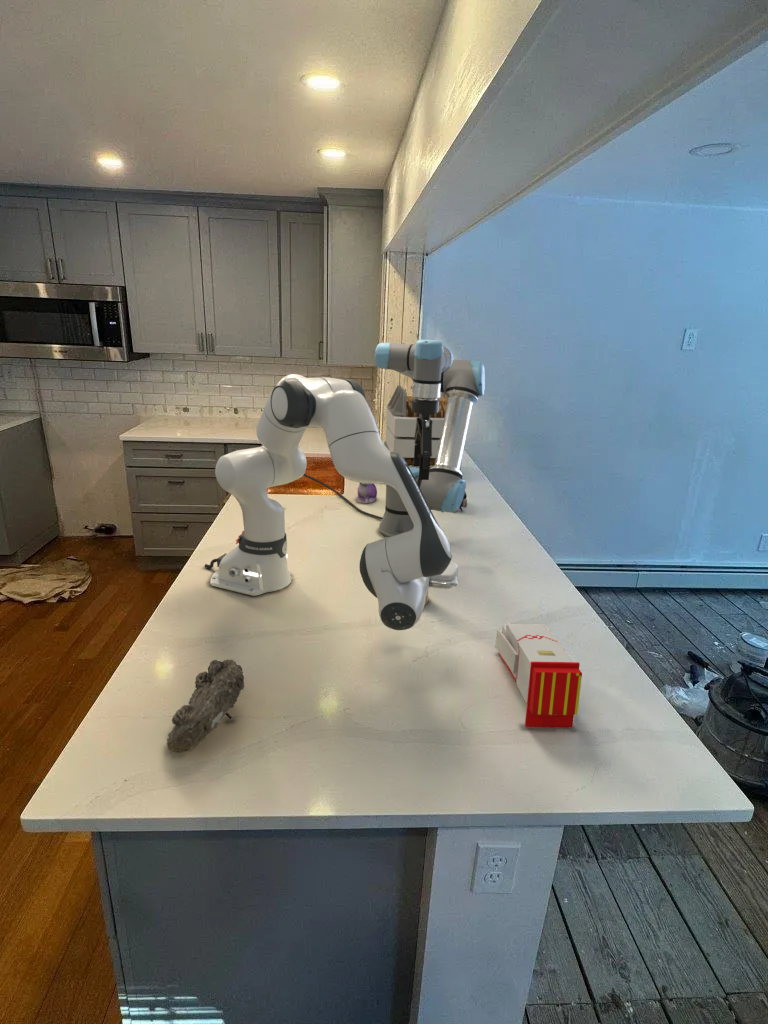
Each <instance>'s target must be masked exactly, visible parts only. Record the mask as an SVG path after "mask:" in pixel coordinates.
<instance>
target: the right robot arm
mask: <svg viewBox="0 0 768 1024" xmlns="http://www.w3.org/2000/svg"><path fill="white" fill-rule="evenodd" d="M374 363H375V366H376V367H377V368H378V369H382V370H386V371H387V370H392V371H394V372H397V373H399V374H401V375H403V376H406V377H407V378H410V379H411V380H412V383H413V385H410V390H412V393H411V394H412V396H413V397H415V398H413V399H412V408H411V410H412V412H413V413H416V414H417V419H416V429H415V437H414V441H415V444H416V445H415V448H414V464H413V466H408V467H409V468H410V470H411V472H412V474H413V476H414V478H415V480H416V482H417V483H418V485H419V487H420V489H421V491H422V493H423V495H424V497H425V499H426V501H427V503H428V506H429V508H430V510H431V511H435V512H436V511H437V512H441V513H450V514H451V513H456V512H457V511H458V510H459V509H460V508H459V507H460V505H461V503H462V500H463V497H464V494H465V492H466V488H467V482H466V480H465V479H464V478H463V477H464V476H463V473H462V471H461V472H460V470H459V469H460V464H461V465H462V462H461V459H463V453H464V450H465V449H464V448H465V444H466V438H467V433H468V428H469V425H470V418H471V413H472V407H473V405H475V404H476V403H478V400H479V397H483V396H484V395H485V390H486V372H485V371H486V370H485V365H484V363H483V362H482V361H478V360H472V359H470V360H467V359H455V358H454V354H453V352H452V350H451V349H450V347H448V346H446V345H444V342H443V341H442V340H438V339H417V341H416V342H415V344H413V343H412V344H411V343H397V342H390V341H388V342H379V343H378V344H377V346H376V347H375V350H374ZM441 392H444V393H445V397H446V399H447V400H448V402H447V407H446V412H445V417H444V422H443V427H442V432H441V437H440V442H439V446H438V451H437V456H436V461H435V465H434V466H431V465H430V457H431V456H432V423H433V422H432V420H431V419H430V415H431V414H437V413H438V411H439V400H438V399H437V398H439V397H441ZM302 477H305V478H308V479H310V480H312V481H315V482H316V483H318V484H320V485H322V486H324V487H326V488H327V489H328V490H330V491H332V492H333V493H335V495H338V496H339V497H340V498H341V499H342V500H344V501H345V502H346V503H347V504H349V505H350V506H352V508H353V509H355V510H356V511H357V512H359V513H361V514H363V515H366V516H369V517H371V518H375V519H378V520H381V522H379V526H378V533H379V534H380V535H381V536H382V537H384V538H387V537H392V536H395V535H398V534H401V533H404V532H408V531H410V530H412V529H413V528H414V524H413V522H412V520H411V518H410V516H409V514H408V512H407V510H406V508H405V505H404V503H403V501H402V499H401V497H400V495H399V493H398V492H397V491H396V490H395V489H394V488H393V487H391V486H389V485H385V504H384V505H385V507H384V508H385V509H384V513H383V515H382V516H379V515H376V514H373V513H369V512H367V511H364V510H362V509H360V508H359V507H357V506H356V505H355V504H354V503H353V502H351V501H350V500H349V499H347V497H345V496H344V495H342V494H341V493H340V492H339V491H337V490H336V489H334V488H333V487H332V486H330V485H328V484H326V483H324V482H323V481H321V480H319V479H317V478H315V477H313V476H310V475H308V474H306V473H304V475H303V476H302ZM458 508H459V509H458Z"/></svg>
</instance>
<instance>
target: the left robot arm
mask: <svg viewBox="0 0 768 1024" xmlns="http://www.w3.org/2000/svg"><path fill="white" fill-rule="evenodd" d="M307 429H323V431H324V434H325V439H326V443H327V448H328V450H329V451H328V452H329V455H330V458H331V461H332V464H333V466H334V468H335V470H336V472H337V473H338V474H339V475H340V476H341V477H343V479H344V478H345V480H348V481H351V482H354V483H359V484H360V483H369V484H375V485H385V486H386V485H389V486H391V487H393V488H394V489H395V490H396V491H397V492H398V493H399V495H400V497H401V499H402V501H403V503H404V505H405V508H406V510H407V512H408V514H409V516H410V518H411V520H412V522H413V524H414V528H413V529H412V530H410V531H408V532H404V533H401V534H398V535H395V536H392V537H384V538H381V539H378V540H375V541H371V542H368V543H367V544H365V546H364V548H363V549H362V551H361V555H360V559H359V572H360V577H361V579H362V582H363V584H364V585H365V588H366V589H367V590H368V592H369V593H370V594H371V595H373V597H375V598H376V599H377V603H378V604H377V605H378V616H379V618H380V621H381V622H382V624H383V625H384V626H385V627H387V628H388V629H391V630H394V631H406V630H409V629H411V628H413V627H415V625H416V624H417V623H418V622H419V621H420V619H421V616H422V614H423V613H424V608H425V606H426V604H425V600H426V596H427V593H428V589H429V590H430V588H433V589H442V590H449V589H452V588H453V587H457V585H458V571H459V565H458V564H456V563H455V562H452V559H453V551H452V547H451V544H450V540H449V539H448V537H447V536H446V534H445V532H443V530H442V529H441V526H440V525H439V523H438V521H437V520H436V518H435V516H434V514H433V512H432V510H430V508H429V506H428V503H427V501H426V499H425V497H424V495H423V493H422V491H421V489H420V487H419V485H418V483H417V482H416V480H415V478H414V476H413V474H412V472H411V470H410V468H409V467H410V466H408V465H407V463H406V462H405V460H404V459H403V458H402V457H401V456H400V455H399V454H398V453H394V452H391V451H389V450H388V449H387V448H386V446H385V445H384V441H383V439H382V437H381V434H380V432H379V431H380V430H379V427H378V425H377V422H376V419H375V417H374V413H373V412H372V410H371V408H370V406H369V403H368V402H367V400H366V394H365V391H364V389H363V387H362V386H361V384H360V383H359V382H357V381H355V380H352V379H349V378H344V377H343V378H336V377H325V376H317V377H306V376H304V375H301V374H297V373H291V374H287V375H285V376H283V377H282V378H281V379H280V381H278V382H277V383H276V384H275V385H274V388H273V389H272V392H271V394H270V395H269V397H268V399H267V401H266V403H265V405H264V408H263V410H262V413H261V415H260V417H259V420H258V422H257V425H256V430H255V431H256V437H257V440H258V441H259V443H260V444H261V446H257V447H250V448H245V449H237V450H234V451H231V452H229V453H226V454H224V455H221V456H219V458H218V460H217V462H216V464H215V469H214V475H215V478H216V481H217V483H218V485H219V486H220V488H221V489H222V490H224V491H225V492H226V493H228V494H230V495H232V497H234V498H235V500H236V502H238V504H239V506H240V509H241V513H242V522H243V530H242V531H241V534H239V535H238V538H237V539H235V544H236V545H237V544H238V546H236V547H234V548H233V549H231V550H230V551H228V552H226V553H224V554H222V555H221V556H219V557H217V558H213V559H212V560H211V561H210V562H209V564H207V563H205V564H204V567H205V568H207V569H212V568H213V567H214V565H215V563H216V567H217V568H218V569H216V570H215V571H214V573H213V574H212V575H211V577H210V583H209V584H210V586H211V587H216V588H220V589H224V590H227V591H232V592H236V593H239V594H245V595H247V596H252V597H254V596H255V597H256V596H260V595H263V594H265V593H271V592H276V591H279V590H282V589H284V588H286V587H288V586H289V585H290V584H291V583H292V580H293V579H292V575H291V572H290V569H289V565H288V559H287V558H289V557H288V539H287V533H286V519H285V518H286V517H285V515H286V514H285V508H284V507H283V505H282V504H281V503H280V502H278V501H277V500H275V499H273V498H270V497H269V495H268V489H269V488H272V487H278V486H283V485H288V484H289V483H290V484H291V483H292V482H294V481H297V480H299V479H301V478H302V477H304V476H303V475H304V474H306V471H307V466H308V461H307V457H306V454H305V453H304V451H303V449H302V448H301V447H300V446H299V445H300V442H301V441H302V438H303V436H304V434H305V431H306V430H307Z"/></svg>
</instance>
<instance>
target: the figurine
mask: <svg viewBox="0 0 768 1024" xmlns="http://www.w3.org/2000/svg"><path fill="white" fill-rule="evenodd" d="M377 495H378V489H377V486H376V484H369V483H359V484H358V487H357V497H356V500H357V502H358V503H360V504H368V503H374V502H375V501H376V500H377V497H378V496H377Z"/></svg>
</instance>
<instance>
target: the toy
mask: <svg viewBox="0 0 768 1024" xmlns="http://www.w3.org/2000/svg"><path fill="white" fill-rule="evenodd" d="M551 631H552V630H551V629H550V628H548V627H547V625H546V624H545V623H506V625H502V628H501V629H500V628H499V629H497V630H496V636H495V637H496V638H495V644H494V647H495V649H496V651H497V652H498V655H499V657H500V659H501V661H502V662H503V664H504V666H505V667H506V669H507V670H508V672H509V674H510V676H511V677H512V679H513V680H514V682H515V683H516V686H517V688H518V690H519V693H520V694H521V695H522V698H523V700H524V702H525V704H526V708H525V709H526V710H525V721H524V727H525V728H552V729H553V728H555V729H556V728H557V729H562V728H563V729H573V726H574V719H575V716H578V712H579V703H580V695H581V687H582V677H583V672H582V670H580V667H581V665H580V662H578V661H573V659H572V657H570V656H569V655H570V654H568V653H567V651H566V650H565V649H564V647H563V646H562V645H561V644H560V641H558V639H557V638H556V637H555V636H554V634H553V633H552V632H551Z"/></svg>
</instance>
